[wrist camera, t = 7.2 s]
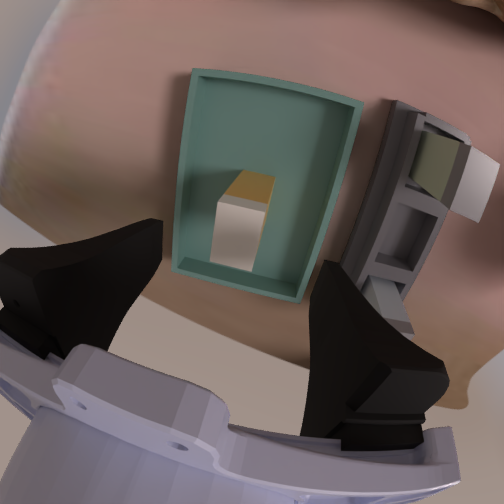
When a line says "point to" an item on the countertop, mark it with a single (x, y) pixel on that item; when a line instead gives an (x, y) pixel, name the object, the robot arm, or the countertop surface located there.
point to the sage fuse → (454, 174)
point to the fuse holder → (397, 205)
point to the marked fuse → (241, 220)
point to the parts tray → (265, 162)
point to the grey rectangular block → (387, 303)
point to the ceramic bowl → (486, 6)
